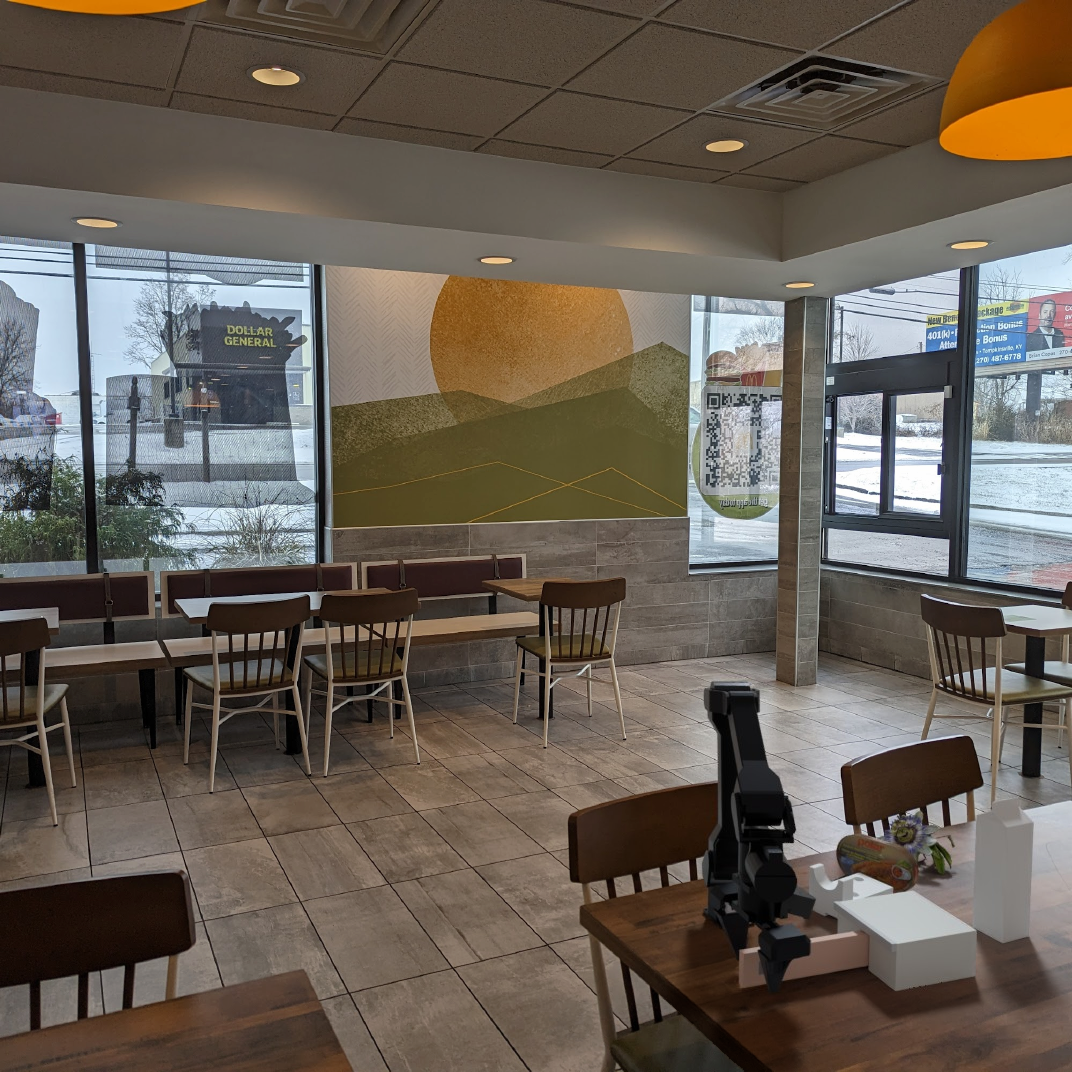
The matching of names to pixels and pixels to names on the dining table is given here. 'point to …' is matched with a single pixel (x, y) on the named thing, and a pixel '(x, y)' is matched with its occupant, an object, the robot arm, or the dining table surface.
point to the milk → (1003, 871)
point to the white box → (910, 939)
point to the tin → (877, 861)
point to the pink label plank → (811, 958)
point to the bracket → (841, 889)
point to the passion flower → (918, 839)
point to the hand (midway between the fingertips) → (756, 976)
